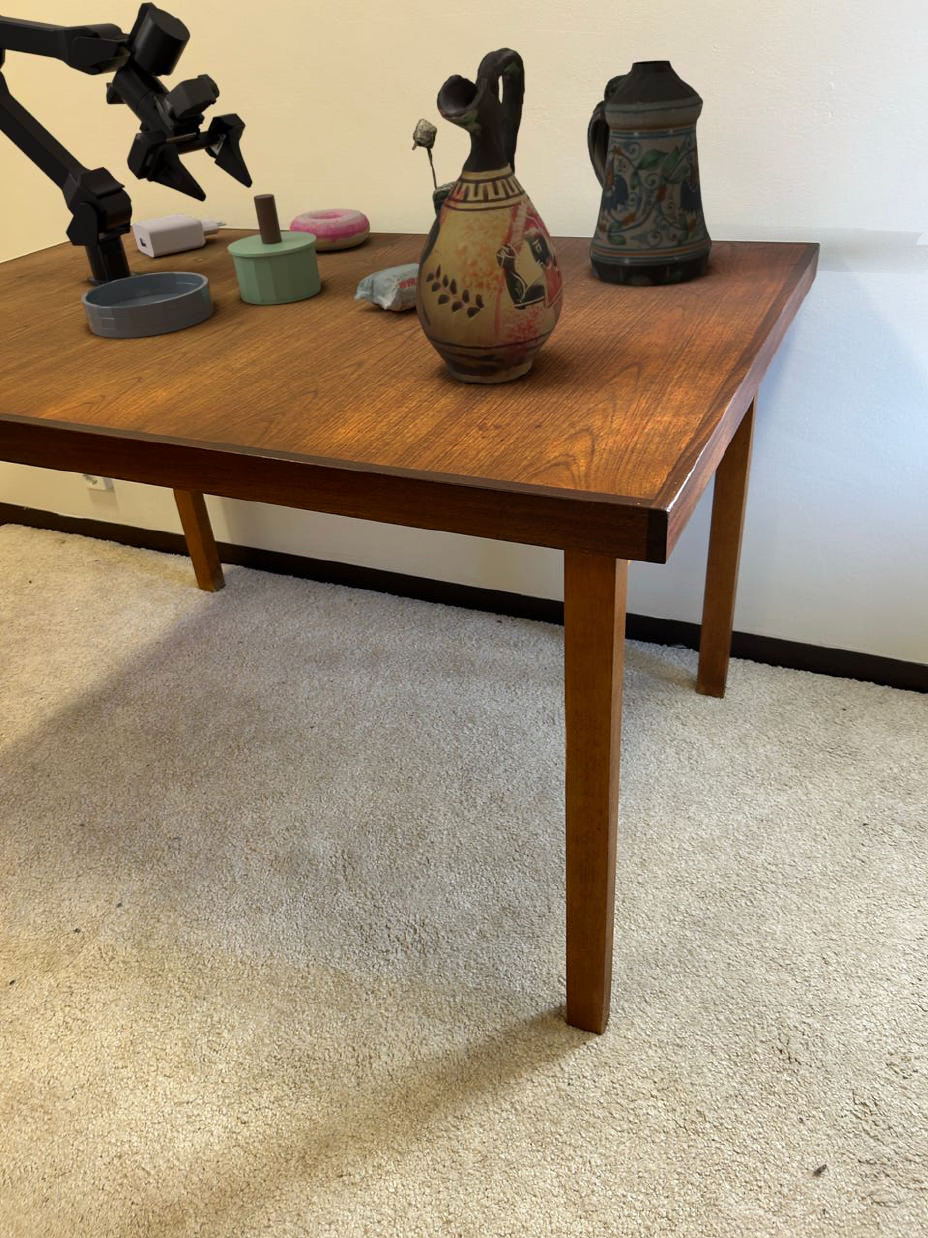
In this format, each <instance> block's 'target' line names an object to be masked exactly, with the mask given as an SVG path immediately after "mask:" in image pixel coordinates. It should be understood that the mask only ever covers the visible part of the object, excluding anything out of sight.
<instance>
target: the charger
mask: <svg viewBox="0 0 928 1238" xmlns="http://www.w3.org/2000/svg"><path fill="white" fill-rule="evenodd" d="M131 223H132V224H131V225H132V226H131V227H132V230H133V235H134V238H135V243H136V245H137V248H138V250H139V251H140V252H141V253H143V254H145V255H147V256H149V257H151V258H155V257H156V258H157V257H160V256H161V257H162V256H167V255H171V254H175V253H179V252H184V251H189V250H195V249H200V248H203V247H204V245H205V244H206V243H207V242H206V237H208V236H213V235H217V234H218V233H219V231H220V227H224V226H227V222H223V221H221V220H220V221H215V219H211V218H205V219H198V218H195V217H192V216H190V215H188V214H184V213H177V214H172V215H167V216H162V217H156V218H151V219H147V220H146V219H145V220H141V221H135V222H131Z"/></svg>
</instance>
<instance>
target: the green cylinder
mask: <svg viewBox="0 0 928 1238" xmlns="http://www.w3.org/2000/svg"><path fill="white" fill-rule="evenodd" d="M232 259H233V263H234V269H235V274H236V278H237V284H238V288H239V293H240V298H241V301H243V302H244V303H247V304H252V305H262V306H264V305H265V306H266V305H267V306H268V305H281V304H287V303H288V304H289V303H293V302H298V301H302V300H305V299H308V298H311V297H313V296H315V295H317V294H319V292H320V291H321V289H322V287H321V286H322V284H321V283H322V282H321V276H320V272H319V265H318V259H317V250H315V245H313V246H311V247H309V248H306V249H303V250H300V251H297V252H293V253H288V254H283V255H276V256H267V257H240V256H235V255H232Z"/></svg>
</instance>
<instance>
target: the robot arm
mask: <svg viewBox="0 0 928 1238" xmlns="http://www.w3.org/2000/svg"><path fill="white" fill-rule="evenodd" d="M190 39H191V32H190V30H189V29H188V27H187V26H186V24H185V23H184V22H183V21H182V20H181V19H180V18H178V17H175V16H174V15H172V14H171V13H170V12H168V11H166V10H164V9H161V8H159V7H157V6H156V5H155V4H154V3H153V2H152V1H149V2H141V4H140V6H139V8H138V11H137V16H136V19H135V21H134V22H133V25H132V27H131V30H130V32H129V33H127V32H123V29H122V28H121V27H120V26H119V25H118V24H114V23H111V22H107V23H106V22H105V23H95V24H94V23H93V24H86V25H85V24H82V25H73V26H65V25H58V24H54V23H48V22H43V21H42V22H41V21H35V20H28V19H22V18H16V17H10V16H4V15H1V14H0V131H1V133H3V134H4V136H6V138H7V139H9V140H10V141H11V142H12V144H14V146H16V147H17V148H18V149H19V150H20V151H21V152H22V154H24V155H25V156H26V157H27V158H28V159H29V160H30V161H31V162H32V163H33V164H34V165H35V166H36V167H37V168H38V169H39V170H41V171H42V173H43V174H44V175H46V176H47V177H48V179H50V180H51V181H52V183H54V184H55V185H56V186H57V187H58V188H59V189H60V191H61V193H62V196H63V199H64V202H65V205H66V208H67V209H68V211H69V212H70V214H71V215H72V217H71V220H70V222H69V224H68V226H67V228H66V230H65V234H66V236H67V238H68V240H69V241H70V243H71V245H72V247H84V250H85V253H86V256H87V260H88V263H89V267H90V270H91V273H92V275H91V276H87V277H86V281H87V282H89V283H91V284H92V285H95V286H96V287H97V286H100V285H102V284H105V283H108V282H112V281H115V280H119V279H123V278H127V277H132V276H138V275H139V274H138V273H136V272H134V271H131V269H130V265H129V261H128V257H127V254H126V250H125V246H124V242H123V239H122V236H124V235H126V234H131V227H132V226H131V225H132V224H131V223H132V216H133V205H132V198H131V197H130V195H129V194H128V192H127V191H126V190H125V188H126V185H125V184H123V183H121V182H119V180H117V179H116V178H115V177H114V176H113V175H112V173H111V172H110V170H108V169H107V168H106V167H104V166H101V167H98V168H94V169H89V168H88V167H86V166H84V164H82V163H81V162H80V161H79V160H78V159H77V158H76V157H75V156H74V155H73V154H72V153H71V152H70V151H69V150H68V149H67V148H66V147H65V146H64V145H63V144H62V143H61V142H60V141H59V140H58V139H57V138H56V137H55V136H54V135H53V134H52V133H50V131H49V130H48V129H47V128H46V127H44V125H42V123H41V122H39V121H38V120H37V118H36V117H34V115H33V114H32V113H30V112H29V110H28V109H27V108H25V107H24V105H22V103H20V101H18V100H17V99H16V97H14V96H13V95H12V94H11V92H10V89H9V86H8V83H7V80H6V76H5V75H4V73H3V72H2V70H1V69H2V68H3V66H4V64H5V63H6V53H7V52H6V51H12V52H17V53H23V54H28V55H35V56H39V57H46V58H51V59H55V60H57V61H61V62H63V63H64V64H66V65H67V66H68V67H69V68H71V69H73V70H75V71H79V72H80V73H84V74H86V75H88V76H99V75H103V74H109V73H114V76H113V78H112V80H111V82H110V81H109V82H106V83H105V87H106V93H105V100H106V104H107V105H126V106H127V107H128V108H129V110H130V111H131V112H132V113H133V114H134V115H135V116H136V118H137V119H138V120H139V121H140V125H139V128H138V130H139V131H140V132H137V133H135V136H134V137H133V141H132V144H131V147H130V149H129V151H128V155H127V157H126V164H127V167H128V170H129V171H130V172H131V173H132V175H134V177H136V179H137V180H138V181H140V180H144V179H146V181H147V182H149V183H156V184H159V185H162V186H164V187H167V188H170V189H172V190H175V191H177V192H179V193H181V194H184V195H186V196H188V197H190V198H192V199H195V200H197V201H199V202H201V203H202V202H205V201H206V199H207V194H206V192H205V191H204V190H203V188H202V186H201V185H200V183H199V182H198V181H197V179H195V177H194V176H193V175H192V173H191V172H190V171H189V170H188V169H187V167H186V166H185V165H184V164H183V162H182V160H181V159H180V156H181V155H186V154H190V153H193V152H198V151H202V150H204V151H205V153H206V154H207V155H208V157H210V158H212V159H214V162H213V163H214V164H215V165H216V166H217V167H219V168H220V169H221V170H222V171H224V172H225V173H227V174H228V175H229V176H231V177H232V178H233V179H234V180H235V181H237V182H238V183H240V184H241V185H242V186H244V187H245V188H247V189H250V188H251V187H252V186H253V183H254V181H253V179H252V177H251V174H250V172H249V169H248V167H247V165H246V162H245V159H244V156H243V154H242V150H241V147H240V141H241V139H242V136H243V133H244V131H245V129H246V127H247V125H246V123H245V122H244V120H242V118H241V117H240V116H239V115H238V113H237V112H234V113H233V112H232V113H230V112H229V113H225V114H221V115H220V114H219V115H217V116H213V117H212V119H211V121H210V123H209V125H208V128H207V130H204V131H201V128H200V126H201V125H203V124H204V121H205V119H206V117H205V115H204V114H203V113H204V112H205V111H206V110H207V109H208V108H210V106H213V105H215V104H216V103H217V99H218V98H219V97H220V94H221V93H220V92H221V91H220V88H219V86H218V84H217V83H216V81H215V80H214V79H213V78H212V77H211V76H210V75H209V74H208V73H203V74H198V75H197V77H196V78H188V79H185V80H182V81H180V82H179V83H178V84H176V85H175V86H174V87H173V88H172V89H171V90H169V89H168V87H167V86H166V85H165V84H164V83H163V81H162V80H161V79H160V78H159V77H162V76H165V77H169V76H171V75H172V74H173V73H174V71H175V70H176V66H177V65H178V63H179V62H180V59H181V57H182V55H183V53H184V52H185V49H186V46H187V45H188V43H189V41H190Z"/></svg>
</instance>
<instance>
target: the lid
mask: <svg viewBox="0 0 928 1238" xmlns="http://www.w3.org/2000/svg"><path fill="white" fill-rule="evenodd" d="M253 202H254V207H255V213H256V218H257V223H258V228H259V234H256V235H251V236H247V237H243V238H241V239H238V240H236V241H233V242H232V243H230V244H229V245H228V246H227V252H228V254H229V255H232V256H233V255H235V256H240V257H267V256H276V255H283V254H288V253H293V252H297V251H300V250H303V249H306V248H309V247H311V246H313V245H314V244H315V243H316V242H317V239H316V236H315V235H314V234H311V233H307V232H290V231H281V225H280V221H279V216H278V215H279V214H278V210H277V204H276V198H275V195H274V194H273V193H263V194H257V195H255V196H253Z"/></svg>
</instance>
